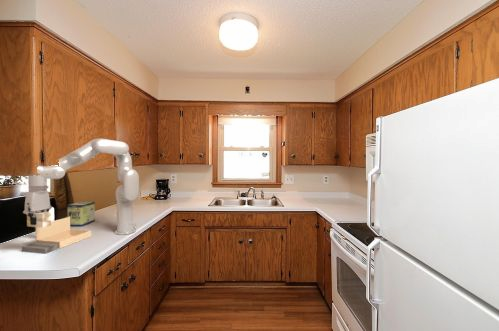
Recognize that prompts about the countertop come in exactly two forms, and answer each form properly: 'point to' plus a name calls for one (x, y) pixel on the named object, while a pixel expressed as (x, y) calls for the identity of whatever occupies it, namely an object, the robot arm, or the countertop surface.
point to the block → (41, 219)
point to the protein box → (81, 213)
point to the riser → (39, 248)
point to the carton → (60, 233)
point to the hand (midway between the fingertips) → (38, 222)
